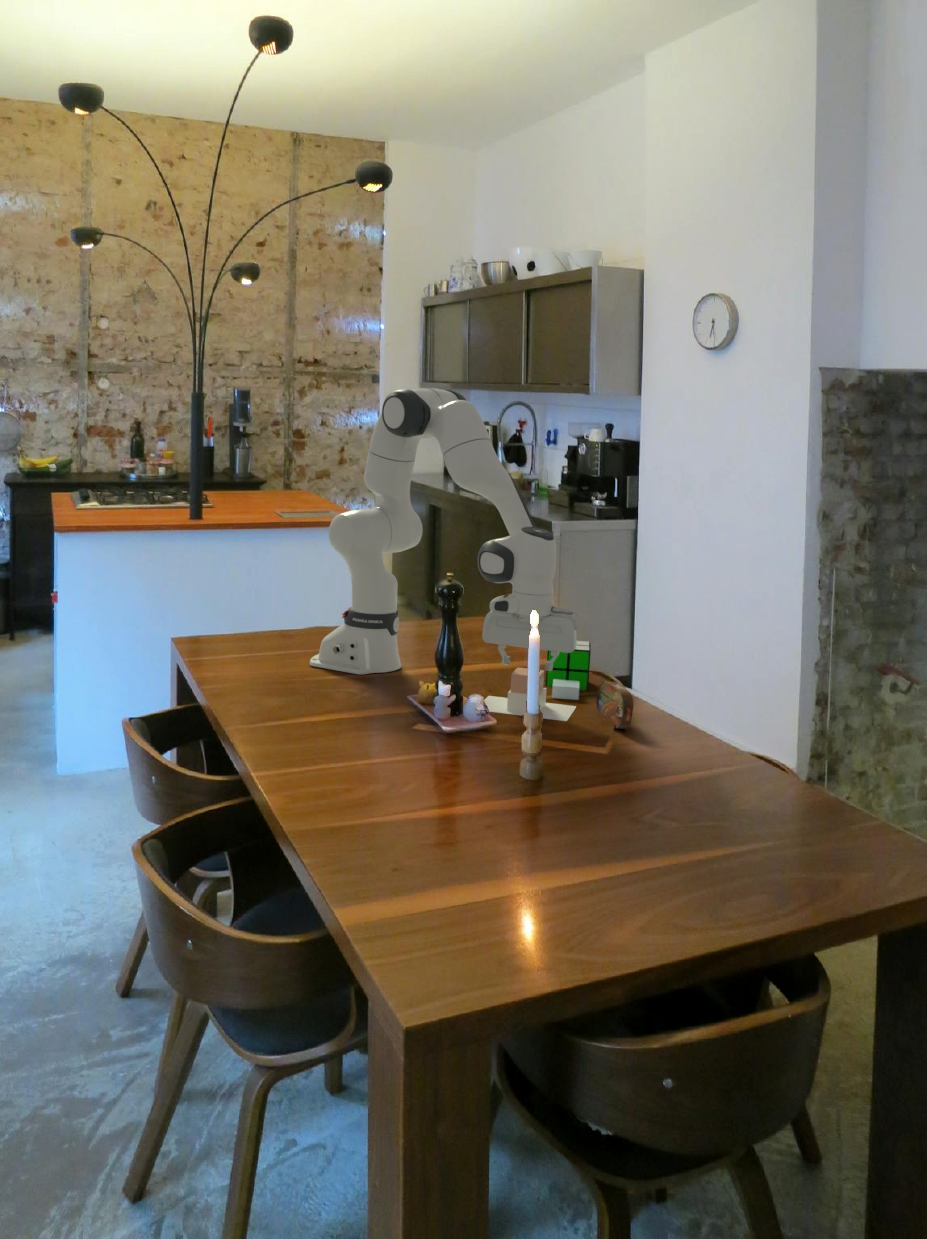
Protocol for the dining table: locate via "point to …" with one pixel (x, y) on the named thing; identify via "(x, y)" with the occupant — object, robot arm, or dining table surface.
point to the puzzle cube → (571, 666)
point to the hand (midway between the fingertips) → (527, 667)
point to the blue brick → (565, 689)
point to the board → (500, 706)
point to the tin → (615, 704)
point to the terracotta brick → (523, 680)
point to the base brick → (523, 701)
